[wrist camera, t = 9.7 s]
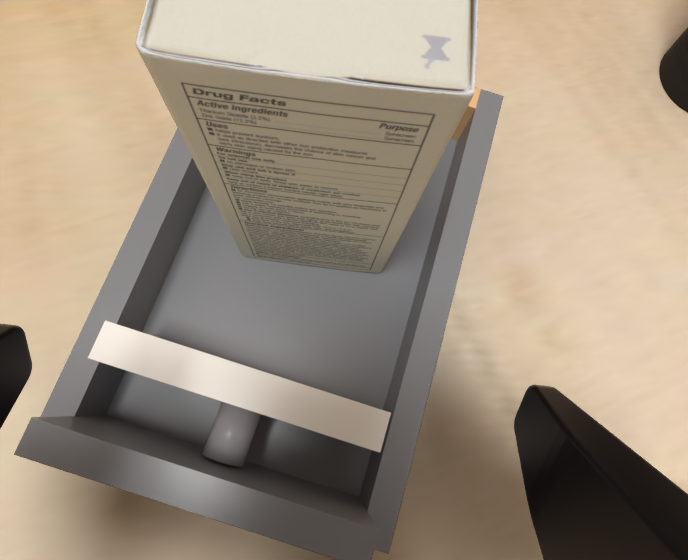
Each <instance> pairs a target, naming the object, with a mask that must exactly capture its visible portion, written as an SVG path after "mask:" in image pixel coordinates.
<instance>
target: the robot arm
mask: <svg viewBox="0 0 688 560" xmlns="http://www.w3.org/2000/svg"><path fill="white" fill-rule="evenodd" d="M31 370H32V361H31V357H30V353H29V349H28V344H27V340H26V336H25V333H24V331H23V329H22V328H21V327H19V326H16V325H8V324H0V428H1V427H2V425H3V423H4V421H5V420H6V418H7V416H8V414H9V412H10V411H11V409H12V407H13V405H14V404H15V402H16V400H17V398H18V396H19V395H20V393H21V391H22V389H23V387H24V386H25V384H26V382H27V380H28V379H29V376H30V374H31ZM514 430H515V436H516V441H517V447H518V452H519V457H520V463H521V468H522V474H523V479H524V485H525V490H526V496H527V500H528V505H529V510H530V514H531V517H532V521H533V525H534V528H535V531H536V535H537V538H538V541H539V545H540V548H541V552H542V555H543V558H544V560H688V494H687V493H686V492H684V491H683V490H682V489H681V488H679V487H678V486H677V485H676V484H674V483H673V482H672V481H671V480H669V479H668V478H667V477H666V476H664V475H663V474H662V473H661V472H659V471H658V470H657V469H656V468H654V467H653V466H652V465H651V464H649V463H648V462H647V461H646V460H644V459H643V458H642V457H641V456H639V455H638V454H637V453H636V452H634V451H633V450H632V449H631V448H629V447H628V446H627V445H626V444H624V443H623V442H622V441H621V440H619V439H618V438H617V437H616V436H614V435H613V434H612V433H611V432H609V431H608V430H607V429H606V428H604V427H603V426H602V425H601V424H599V423H598V422H597V421H596V420H594V419H593V418H592V417H591V416H589V415H588V414H587V413H586V412H584V411H583V410H582V409H581V408H579V407H578V406H577V405H576V404H574V403H573V402H572V401H571V400H569V399H568V398H567V397H566V396H564V395H563V394H562V393H561V392H559V391H558V390H557V389H555V388H553V387H550V386H541V385H531V386H530V387H529V388H528V389H527V391H526V393H525V395H524V398H523V400H522V402H521V405H520V407H519V409H518V412H517V414H516V417H515V422H514Z"/></svg>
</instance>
